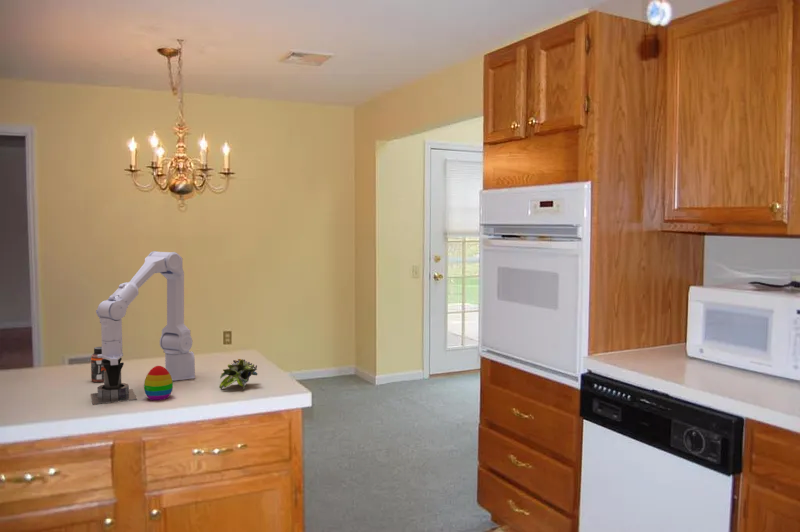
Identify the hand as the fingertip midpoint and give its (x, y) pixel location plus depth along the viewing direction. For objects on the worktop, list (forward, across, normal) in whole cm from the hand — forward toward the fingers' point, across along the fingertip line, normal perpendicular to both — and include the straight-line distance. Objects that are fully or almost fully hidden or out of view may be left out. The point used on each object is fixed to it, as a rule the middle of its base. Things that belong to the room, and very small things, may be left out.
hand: (112, 383), depth 192 cm
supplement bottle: (+4, -23, -2) cm, 24 cm away
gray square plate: (+4, 0, 0) cm, 4 cm away
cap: (+2, 0, 0) cm, 2 cm away
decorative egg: (+4, +7, +12) cm, 15 cm away
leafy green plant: (+4, +7, +37) cm, 38 cm away
